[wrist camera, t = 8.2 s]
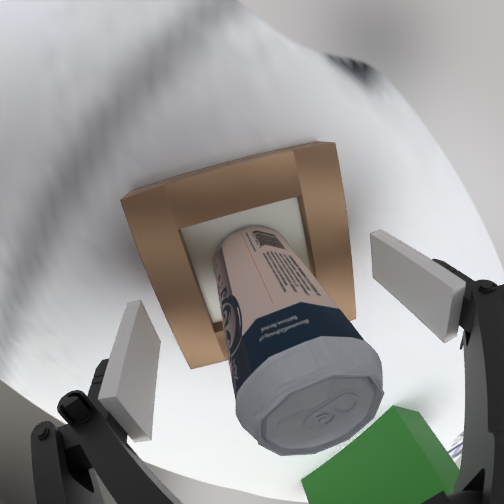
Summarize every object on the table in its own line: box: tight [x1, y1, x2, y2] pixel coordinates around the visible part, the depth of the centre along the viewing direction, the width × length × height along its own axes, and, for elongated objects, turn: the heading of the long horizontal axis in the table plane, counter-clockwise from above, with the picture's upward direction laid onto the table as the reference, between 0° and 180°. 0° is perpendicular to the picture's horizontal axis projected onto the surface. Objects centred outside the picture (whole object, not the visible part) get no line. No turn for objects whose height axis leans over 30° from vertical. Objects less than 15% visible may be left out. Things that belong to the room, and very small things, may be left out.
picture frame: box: [120, 141, 356, 369], centre depth 19 cm, size 12×12×3 cm
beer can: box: [214, 226, 384, 456], centre depth 13 cm, size 5×5×12 cm
